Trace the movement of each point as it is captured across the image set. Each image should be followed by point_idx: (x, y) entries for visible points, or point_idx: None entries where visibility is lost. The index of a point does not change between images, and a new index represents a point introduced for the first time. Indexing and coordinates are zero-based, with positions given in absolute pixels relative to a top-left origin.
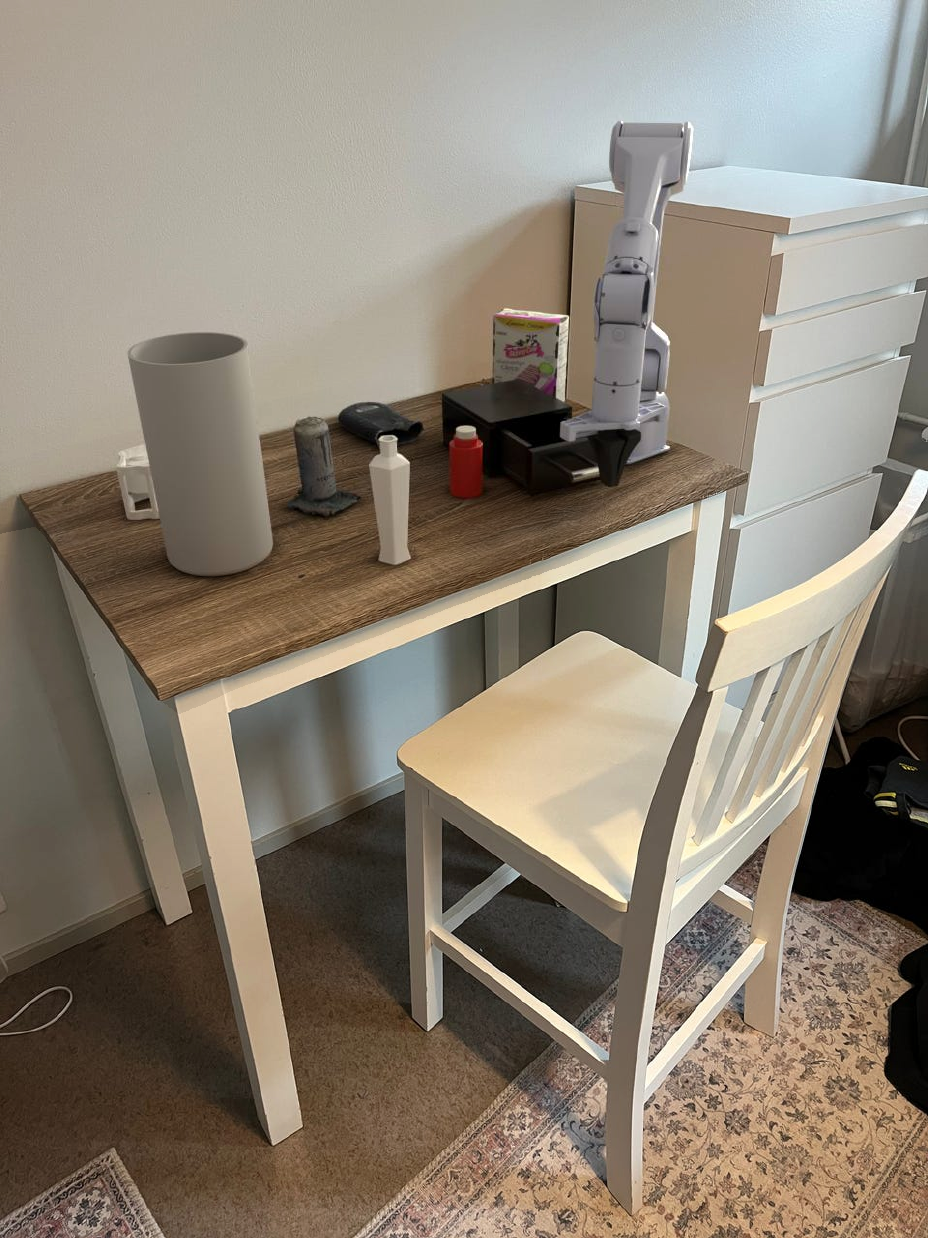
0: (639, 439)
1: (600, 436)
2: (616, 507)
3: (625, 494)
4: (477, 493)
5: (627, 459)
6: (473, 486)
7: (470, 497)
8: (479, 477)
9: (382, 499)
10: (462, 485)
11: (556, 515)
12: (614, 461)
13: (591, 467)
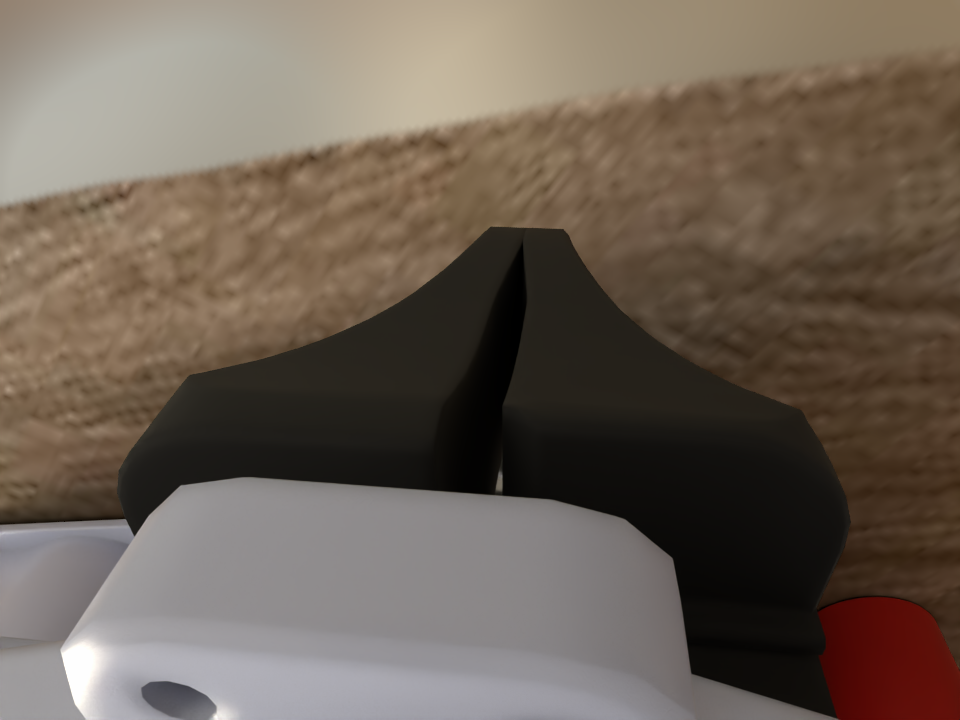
0: (208, 382)
1: (801, 654)
2: (415, 252)
3: (299, 338)
4: (872, 606)
5: (404, 303)
6: (907, 640)
7: (901, 600)
8: (883, 671)
9: None
10: (952, 661)
11: (741, 328)
12: (581, 315)
13: (497, 487)
